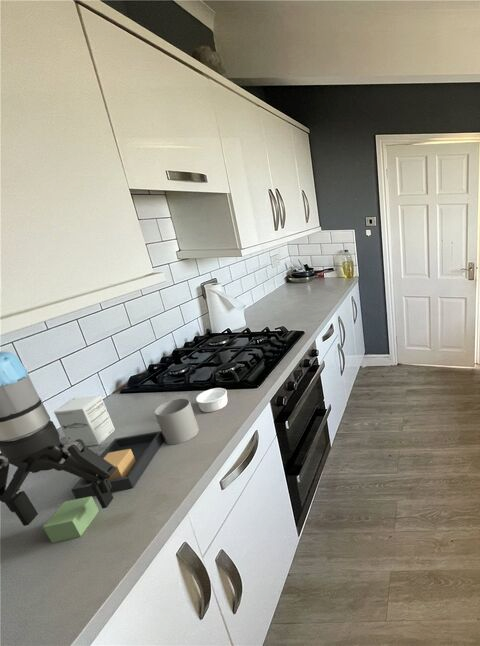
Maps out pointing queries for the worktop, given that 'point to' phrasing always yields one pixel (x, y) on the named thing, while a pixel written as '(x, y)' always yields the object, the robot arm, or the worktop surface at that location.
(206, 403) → the ramekin
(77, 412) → the white packaging box
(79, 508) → the pad
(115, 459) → the light orange rectangular block
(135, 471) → the tray
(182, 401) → the cup
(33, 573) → the worktop surface
